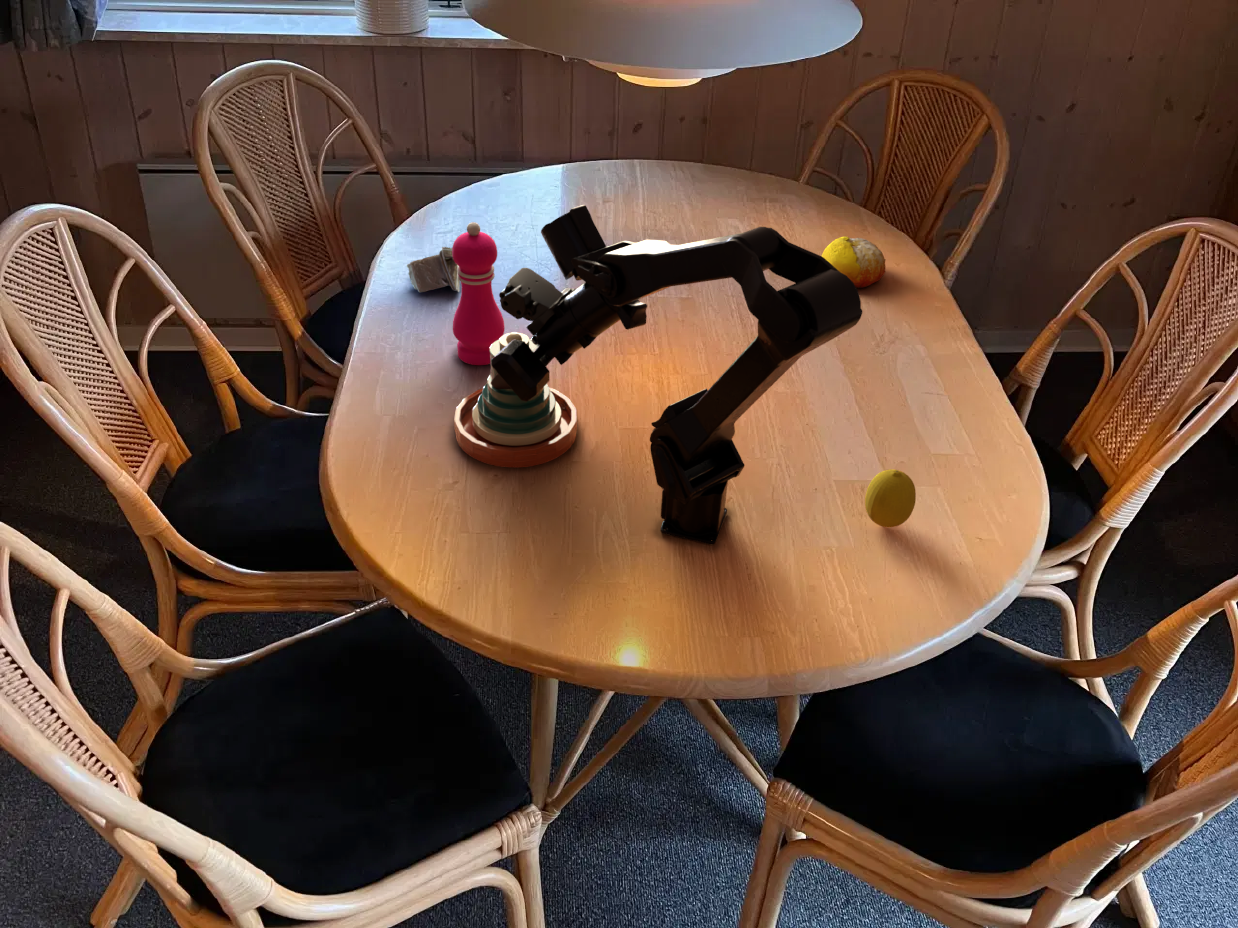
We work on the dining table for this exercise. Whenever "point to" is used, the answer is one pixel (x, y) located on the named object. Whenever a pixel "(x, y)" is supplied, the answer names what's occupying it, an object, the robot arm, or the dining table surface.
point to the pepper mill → (476, 296)
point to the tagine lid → (514, 408)
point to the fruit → (856, 260)
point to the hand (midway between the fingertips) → (505, 373)
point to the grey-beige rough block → (434, 272)
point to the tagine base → (514, 454)
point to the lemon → (890, 498)
